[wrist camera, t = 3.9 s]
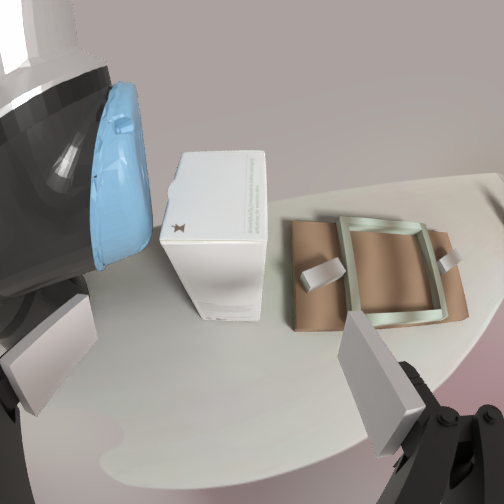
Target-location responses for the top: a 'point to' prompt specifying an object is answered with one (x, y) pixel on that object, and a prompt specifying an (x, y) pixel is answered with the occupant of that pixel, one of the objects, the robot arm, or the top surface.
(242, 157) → the skincare box
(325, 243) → the board
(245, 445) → the top surface
